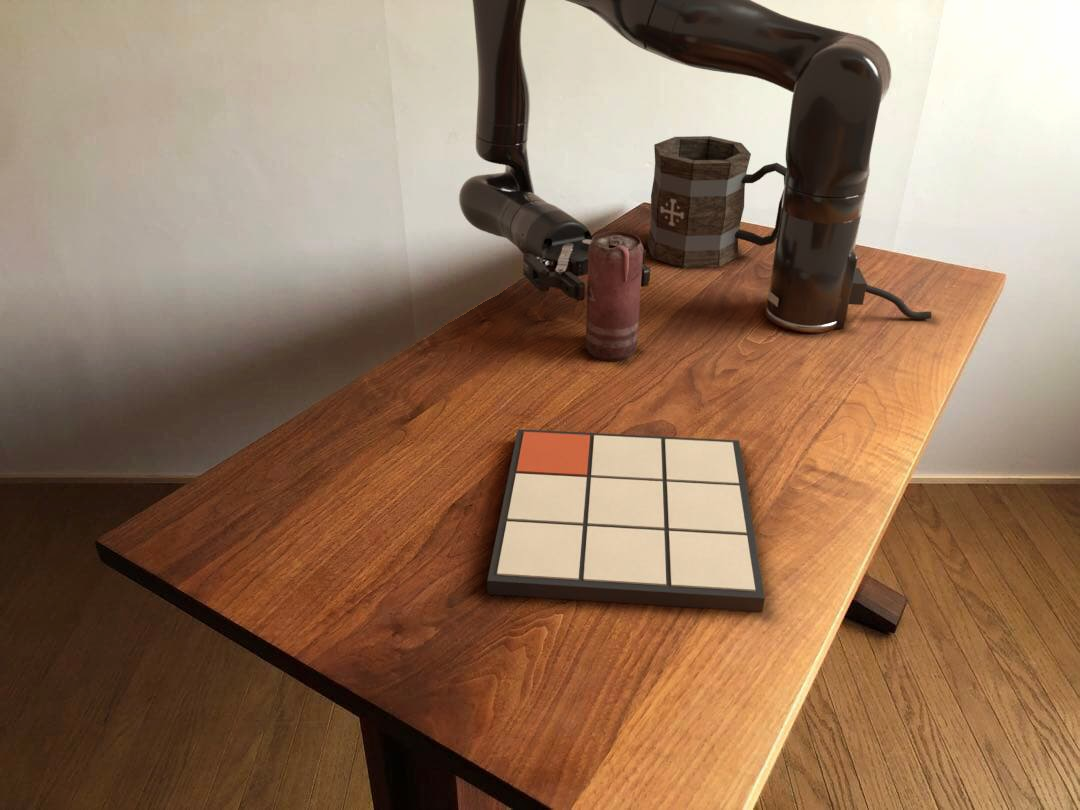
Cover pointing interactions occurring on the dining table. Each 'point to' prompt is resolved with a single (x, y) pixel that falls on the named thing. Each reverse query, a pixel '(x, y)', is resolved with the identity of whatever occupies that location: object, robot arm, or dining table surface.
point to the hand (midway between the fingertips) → (615, 285)
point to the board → (627, 522)
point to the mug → (702, 201)
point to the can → (613, 295)
